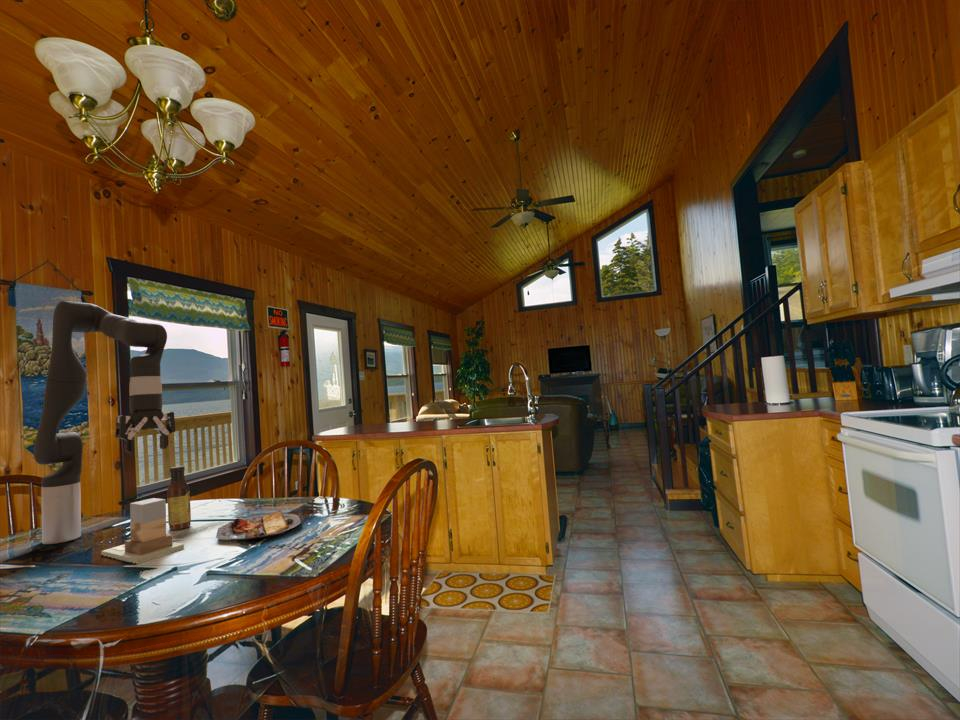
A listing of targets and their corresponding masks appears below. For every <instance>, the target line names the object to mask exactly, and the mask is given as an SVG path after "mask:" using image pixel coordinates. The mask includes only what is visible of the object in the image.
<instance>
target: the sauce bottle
mask: <svg viewBox="0 0 960 720" xmlns="http://www.w3.org/2000/svg"><path fill="white" fill-rule="evenodd" d="M185 468H186V467H185V466H184V465H177V466H172V467H170V468H169V473H170V483H169V485H168V487H167V499H166V501H167V502H166V503H167V516H168V517H167V518H168V519H167V520H168V526H169V527H168V529H169V530H170V531H178V530H183V529H187V528H189V527H190V526H191V520H192V515H191V514H192V513H191V512H192V511H191V496H190V495H191V492H190V487H189V486H188V483H187V480H186V477H185V470H186V469H185Z"/></svg>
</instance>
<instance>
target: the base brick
mask: <svg viewBox="0 0 960 720" xmlns="http://www.w3.org/2000/svg"><path fill="white" fill-rule="evenodd" d="M172 542H173V534H169V533H166V536H163V537H160V538H156V539H153V540H149V541H146V542H138V541H133V540H131V538H129V539H127V540H124V544H125V552H127V553H132V554H136V555H145V554H148V553H151V552H154V551H157V550H160V549H163V548H167V547H170V546H172Z"/></svg>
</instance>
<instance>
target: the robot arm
mask: <svg viewBox="0 0 960 720" xmlns="http://www.w3.org/2000/svg"><path fill="white" fill-rule="evenodd" d="M73 333H84V334H85V333H102V334H103V335H104V336H106V337H108V338H109V339H113V340H117V341H120V342H121V344H124V345H126V346H128V347H134V348H146V351H145V353H144V354H141V355H140V354H139V355H134V356H133V357H131V358H130V360H129V382H128V383H129V385H128V389H129V391H128V392H129V394H128V395H129V398H128V401H129V414H128V415H117V416H116V417H115V435H114V436H115V438H116V439H121V440H123V447H124V449H123V450H124V452H125V453H126V454H128V455H131V454H134V453H135V451H134V449H135V447H134V439H133V438H134V437H135V435H136V434H137V433H139V432H140V431H142V430H147V429H148V430H149V429H151V430H152V429H153V430H155V431H156V432H157V433H159V449H160V450H164V449H165V450H166V449H167V447H168V446H169V435H170V434H172V433H175V432H176V421H175V419H176V418H175V413H174V412H173V411H166V412H163V411H162V410H163V385H162V379H161V362H162V357H163V353H164V350H165V347H166V343H167V340H168V332H167V330H166V328H165V327H164V326H163V325H162V324H160V323H155V322H154V323H153V322H145V321H137V320H136V319H133V318H130V317H127V316H122V315H118V314H114V313H112V312H110V311H108V310H106V309H104V308H103V307H100V306H98V305H96V304H94V303H88V302H82V301H81V302H79V301H69V300H62V301H61V300H60V301H59V302H58V303H57V304H56V307H54V312H53V317H52V334H51V335H52V336H51V337H52V338H51V340H52V342H51V353H50V357H49V358H50V360H49V366H48V369H47V370H48V371H47V375H46V382H45V387H44V388H45V389H44V399H43V406H42V407H43V408H42V413H41V417H40V420H39V425H38V429H37V432H36V436H35V441H34V446H33V458H34V460H35V462H36V463H37V464H39V465H52V464H59V463H61V466H60V467H59V468H58V469H57V470H55V471H54V472H51V473H49V474H47V475H44V476H43V477H42V478H41V483H40V484H41V490H40V491H41V544H43V545H54V544H60V543H61V544H62V543H65V542H69V541H72V540H76V539H79V538H80V537H81V536H82V505H81V504H82V500H81V498H82V497H81V496H82V495H81V493H82V492H81V477H82V471H83V451H84V448H83V447H84V446H83V445H84V444H83V439H82V436H81V435H80V434H79V433H78V432H77V431H76V432H75V431H70V432H69V431H68V432H59V433H57V432H58V429H59V427H60V425H61V422H62V421H63V419H65V417H66V416H67V415H68V414H69V413H70V412H71V410H72V409H73V408H75V406H76V405H77V404H79V402H80V401H81V399H82V398H83V396H84V393H85V389H86V383H87V377H88V375H87V372H86V371H87V370H86V368H85V367H84V365H83V363H82V362H81V360H80V359H79V358H78V356H77V354H76V352H75V351H74V348H73V342H72V340H73V339H72V338H73V337H72V336H73ZM162 419H164V420H165V425H164V424H163V423H162ZM128 422H130V426H129V427H128V428H127V430H126V426H127V425H126V424H128Z"/></svg>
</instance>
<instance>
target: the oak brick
mask: <svg viewBox="0 0 960 720" xmlns="http://www.w3.org/2000/svg"><path fill="white" fill-rule="evenodd" d="M129 523H130V524H129V526H130V531H129V532H130V539H131V540H133V541H138V542H146V541H149V540H153V539H156V538H160V537H163V536H166V534H167V517H166V518H162V519H158V520H154V521H151V522H147V523H143V524H142V523H136V522H129Z"/></svg>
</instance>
